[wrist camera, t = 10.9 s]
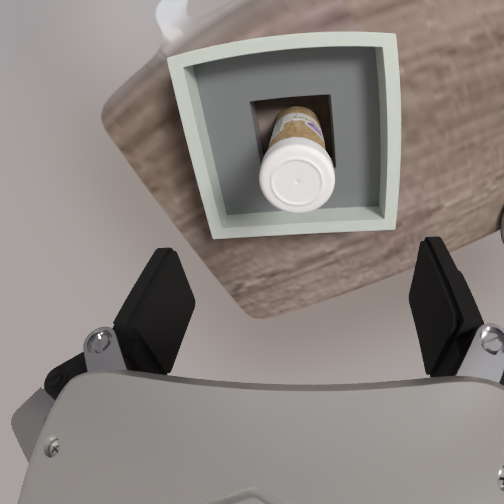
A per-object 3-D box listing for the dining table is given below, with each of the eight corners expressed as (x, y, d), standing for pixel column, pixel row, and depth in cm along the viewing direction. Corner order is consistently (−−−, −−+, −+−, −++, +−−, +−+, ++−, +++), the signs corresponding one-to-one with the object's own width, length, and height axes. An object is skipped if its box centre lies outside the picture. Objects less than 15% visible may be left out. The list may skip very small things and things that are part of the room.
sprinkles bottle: (328, 119, 27) (351, 171, 16) (305, 156, 30) (310, 228, 19) (287, 96, 26) (281, 131, 16) (265, 134, 29) (245, 195, 18)
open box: (377, 36, 21) (395, 33, 16) (382, 202, 31) (395, 229, 27) (188, 55, 24) (166, 57, 20) (224, 211, 35) (212, 239, 31)
